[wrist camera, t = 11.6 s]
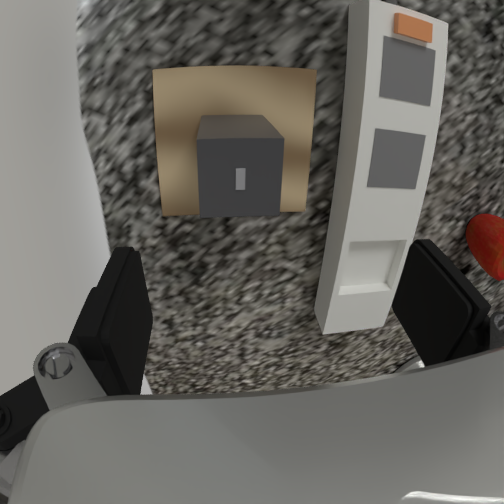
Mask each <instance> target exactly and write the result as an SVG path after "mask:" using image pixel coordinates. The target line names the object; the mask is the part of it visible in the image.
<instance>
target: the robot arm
mask: <svg viewBox="0 0 504 504" xmlns="http://www.w3.org/2000/svg"><path fill="white" fill-rule="evenodd" d="M392 308H393V311H394V313H395V315H396V316H397V318H398V320H399V321H400V323H401V325H402V326H403V328H404V330H405V332H406V333H407V335H408V337H409V338H410V340H411V342H412V344H413V346H414V347H415V349H416V351H417V353H418V354H419V356H417V357H415V358H413V359H412V360H410V361H408V362H407V363H405V364H404V365H403V366H401V367H400V368H399V369H397V370H396V371H395V372H394V373H393V374H388V375H382V376H377V377H371V378H366V379H360V380H353V381H347V382H340V383H333V384H326V385H318V386H310V387H301V388H291V389H281V390H270V391H256V392H240V393H217V394H179V395H159V394H153V395H140V393H141V386H142V380H143V374H144V368H145V362H146V357H147V351H148V346H149V340H150V335H151V330H152V324H153V316H152V311H151V306H150V302H149V297H148V292H147V287H146V282H145V277H144V272H143V267H142V262H141V256H140V253H139V251H134V248H133V247H116V248H115V249H114V251H113V253H112V255H111V257H110V259H109V262H108V263H107V265H106V268H105V270H104V272H103V274H102V276H101V278H100V280H99V282H98V285H97V287H93V288H92V289H91V291H90V293H89V295H88V297H87V299H86V301H85V304H84V306H83V308H82V310H81V313H80V315H79V317H78V319H77V322H76V324H75V326H74V329H73V331H72V334H71V336H70V339H69V341H68V343H55V344H52V345H50V346H48V347H47V348H45V349H43V350H42V351H41V352H40V353H39V354H38V355H37V357H36V359H35V361H34V365H33V371H34V376H33V377H31V378H29V379H28V380H26V381H24V382H23V383H21V384H19V385H18V386H16V387H14V388H13V389H11V390H9V391H8V392H6V393H4V394H3V395H1V396H0V504H504V312H494V313H493V314H492V315H491V317H490V318H489V317H488V315H487V314H488V312H489V310H490V308H491V305H490V304H489V303H488V302H487V301H486V300H485V298H484V297H483V296H482V295H481V294H480V293H479V291H478V290H477V289H476V288H475V287H474V286H473V284H472V283H471V282H470V281H469V280H468V279H467V278H466V277H465V276H464V274H463V273H462V272H461V271H460V270H459V269H458V268H457V267H456V266H455V265H454V264H453V262H452V261H451V260H450V259H449V258H448V257H447V256H446V255H445V254H444V253H443V252H442V251H441V250H440V249H439V248H438V247H437V246H436V245H435V244H434V243H433V242H432V241H431V240H430V239H417V240H415V241H414V242H413V244H411V245H410V247H409V250H408V253H407V257H406V260H405V264H404V267H403V270H402V274H401V277H400V280H399V283H398V286H397V289H396V292H395V295H394V298H393V302H392Z"/></svg>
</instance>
